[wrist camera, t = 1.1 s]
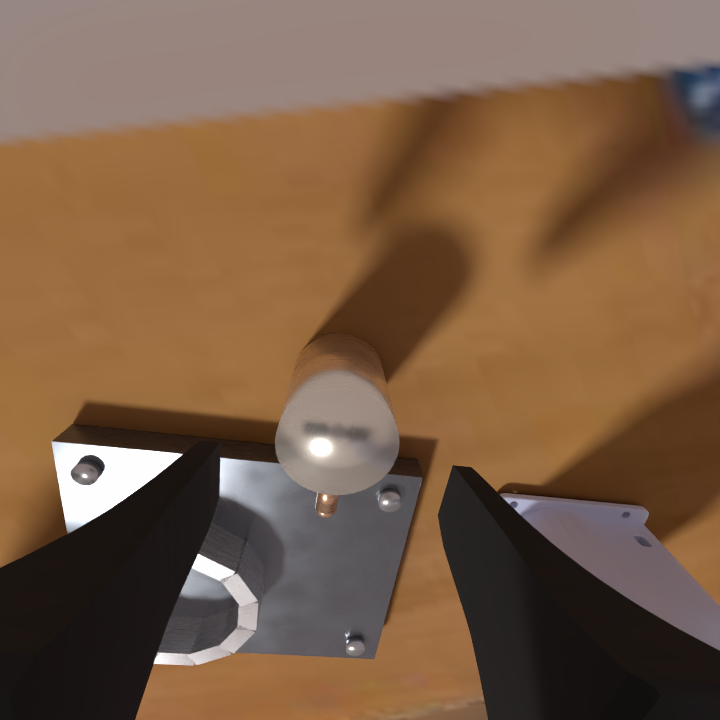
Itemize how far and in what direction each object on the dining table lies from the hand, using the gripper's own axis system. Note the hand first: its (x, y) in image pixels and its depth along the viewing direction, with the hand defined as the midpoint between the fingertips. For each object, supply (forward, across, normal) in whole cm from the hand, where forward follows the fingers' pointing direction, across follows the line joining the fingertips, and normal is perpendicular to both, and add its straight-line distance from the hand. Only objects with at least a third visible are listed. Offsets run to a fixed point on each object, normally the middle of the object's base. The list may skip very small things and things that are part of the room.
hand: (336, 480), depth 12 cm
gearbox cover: (+8, +4, +12) cm, 15 cm away
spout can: (+8, 0, 0) cm, 8 cm away
